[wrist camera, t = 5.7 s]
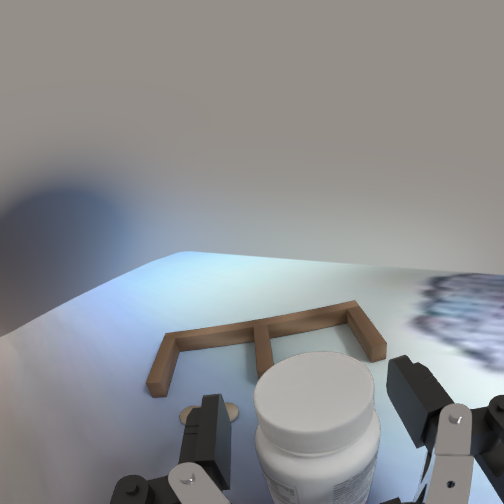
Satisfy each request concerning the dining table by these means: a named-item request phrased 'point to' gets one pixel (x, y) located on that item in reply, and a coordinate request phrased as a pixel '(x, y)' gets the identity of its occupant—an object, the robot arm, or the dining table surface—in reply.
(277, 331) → the slot rack
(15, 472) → the dining table surface
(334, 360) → the pill bottle
